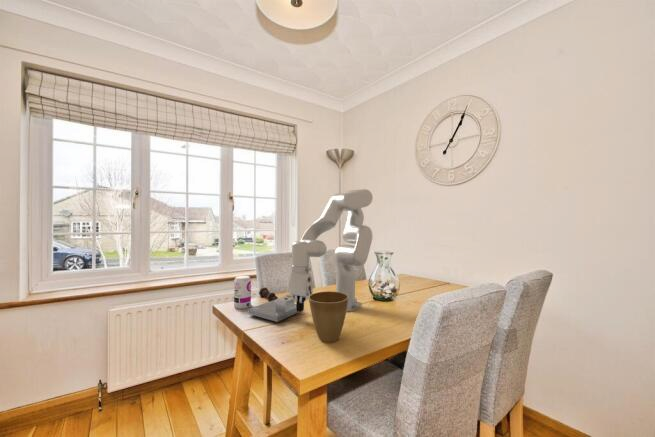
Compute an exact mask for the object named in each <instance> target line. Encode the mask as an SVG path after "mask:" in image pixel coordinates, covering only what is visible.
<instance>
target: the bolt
mask: <svg viewBox="0 0 655 437" xmlns="http://www.w3.org/2000/svg"><path fill="white" fill-rule="evenodd" d="M258 291H259V292H258V295H259V296H260V297H261V298H264V297H265V298H266V299H267V300H268V301H267V302H270V301H273V300H276V299H278V298H279V297H278V296H277V295H276V294H275V292H272V291H271V292H270V291H269V289H268V287H261V288H260V289H259V290H258Z"/></svg>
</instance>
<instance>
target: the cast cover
mask: <svg viewBox="0 0 655 437" xmlns="http://www.w3.org/2000/svg"><path fill="white" fill-rule="evenodd" d="M277 298H278V299H276V311H280V312H284V313H287V312H289V311H291V310H294V304H295V299H294V298H291V297H286V295H284V296H281V297H277Z"/></svg>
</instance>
